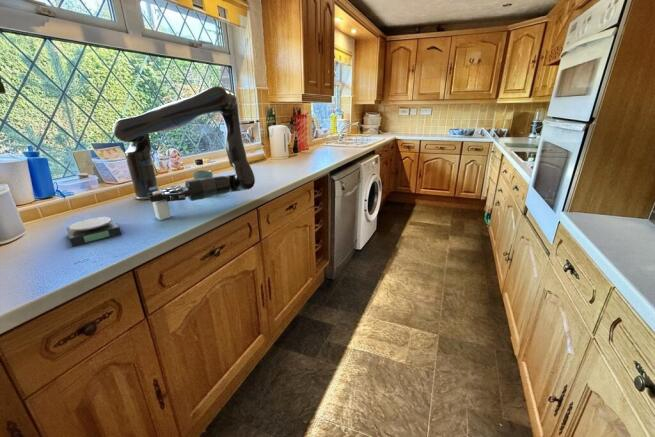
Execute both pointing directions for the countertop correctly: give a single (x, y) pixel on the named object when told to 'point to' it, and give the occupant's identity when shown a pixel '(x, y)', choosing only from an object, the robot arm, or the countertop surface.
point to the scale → (92, 230)
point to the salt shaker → (161, 208)
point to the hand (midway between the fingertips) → (149, 197)
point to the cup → (203, 174)
